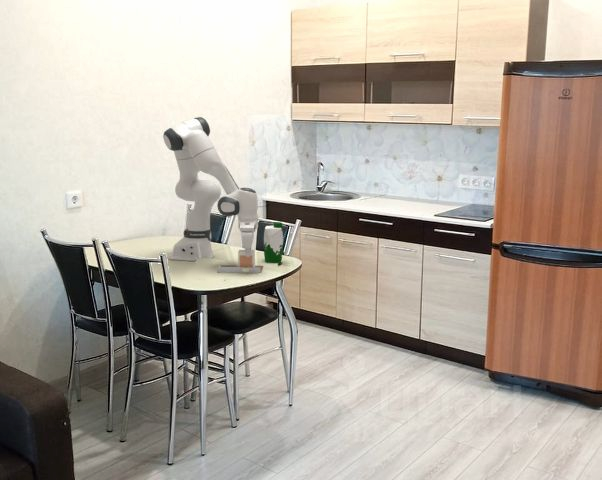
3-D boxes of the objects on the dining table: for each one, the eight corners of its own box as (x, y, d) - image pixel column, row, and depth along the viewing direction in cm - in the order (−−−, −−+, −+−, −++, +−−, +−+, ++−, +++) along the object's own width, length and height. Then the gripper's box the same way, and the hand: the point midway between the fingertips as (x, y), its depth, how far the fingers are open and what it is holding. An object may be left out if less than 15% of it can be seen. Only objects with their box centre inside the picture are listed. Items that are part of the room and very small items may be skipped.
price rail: (217, 272, 284) (217, 267, 284) (218, 272, 285) (218, 266, 285) (260, 273, 284) (260, 267, 283) (260, 272, 285) (260, 267, 284)
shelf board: (216, 275, 285) (216, 272, 284) (221, 267, 298) (221, 265, 298) (261, 275, 284) (261, 273, 284) (263, 268, 298) (263, 265, 298)
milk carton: (282, 265, 303) (282, 224, 299) (263, 265, 304) (263, 224, 300) (283, 261, 312) (283, 221, 308) (264, 261, 312) (264, 221, 308)
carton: (238, 271, 286) (238, 252, 284) (239, 269, 291) (239, 249, 290) (253, 272, 286) (253, 252, 284) (254, 269, 291) (254, 250, 289)
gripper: (242, 220, 295) (243, 249, 298) (239, 228, 275) (239, 259, 278) (256, 220, 295) (256, 249, 298) (253, 228, 275) (254, 259, 278)
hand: (248, 254), depth 288 cm, fingers open, 8 cm apart
